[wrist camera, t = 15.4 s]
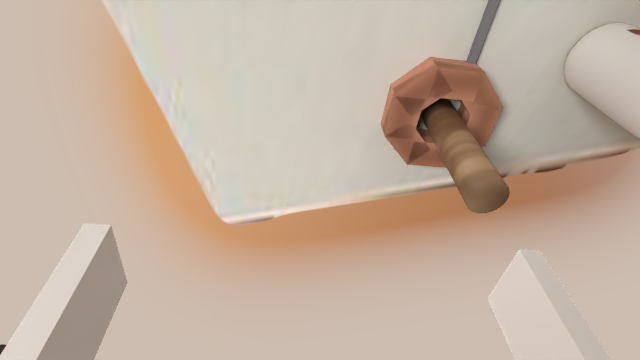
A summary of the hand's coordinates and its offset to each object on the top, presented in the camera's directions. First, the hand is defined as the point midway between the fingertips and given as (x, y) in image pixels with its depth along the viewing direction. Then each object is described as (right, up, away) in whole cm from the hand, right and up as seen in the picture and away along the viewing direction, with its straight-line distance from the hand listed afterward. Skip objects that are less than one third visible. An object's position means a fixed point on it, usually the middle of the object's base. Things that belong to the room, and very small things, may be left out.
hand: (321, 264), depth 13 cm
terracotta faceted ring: (+14, +11, +32) cm, 37 cm away
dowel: (+13, +11, +32) cm, 37 cm away
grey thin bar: (+17, +20, +26) cm, 37 cm away
